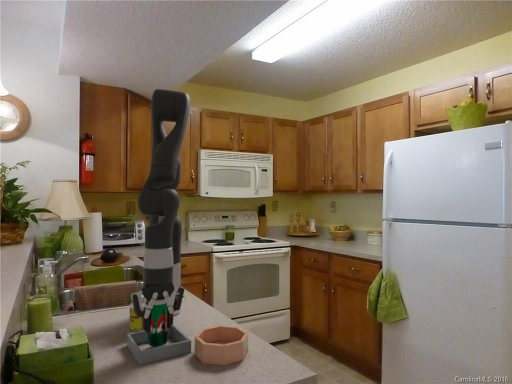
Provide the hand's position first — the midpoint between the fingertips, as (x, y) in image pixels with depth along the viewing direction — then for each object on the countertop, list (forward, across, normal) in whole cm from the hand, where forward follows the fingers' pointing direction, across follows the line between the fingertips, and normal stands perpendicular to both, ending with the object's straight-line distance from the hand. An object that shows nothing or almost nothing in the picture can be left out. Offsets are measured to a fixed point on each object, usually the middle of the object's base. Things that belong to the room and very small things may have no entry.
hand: (157, 329), depth 91 cm
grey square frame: (+5, 0, 0) cm, 5 cm away
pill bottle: (+5, +1, -14) cm, 15 cm away
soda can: (+4, 0, 0) cm, 4 cm away
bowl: (+5, -13, +11) cm, 18 cm away
